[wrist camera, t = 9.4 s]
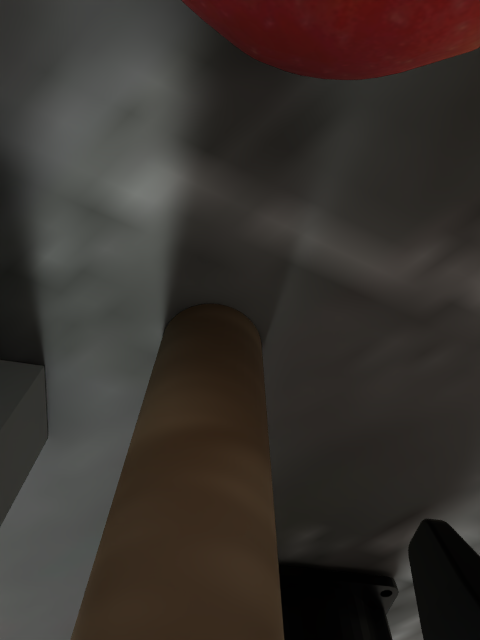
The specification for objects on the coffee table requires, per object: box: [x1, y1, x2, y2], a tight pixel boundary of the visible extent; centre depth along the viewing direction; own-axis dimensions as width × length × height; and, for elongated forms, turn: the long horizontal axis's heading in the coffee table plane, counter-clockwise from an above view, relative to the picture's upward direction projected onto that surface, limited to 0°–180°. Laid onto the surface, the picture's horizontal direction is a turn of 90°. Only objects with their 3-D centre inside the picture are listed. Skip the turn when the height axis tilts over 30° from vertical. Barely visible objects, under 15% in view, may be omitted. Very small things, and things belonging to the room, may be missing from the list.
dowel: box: [71, 304, 284, 640], centre depth 9 cm, size 3×3×10 cm
